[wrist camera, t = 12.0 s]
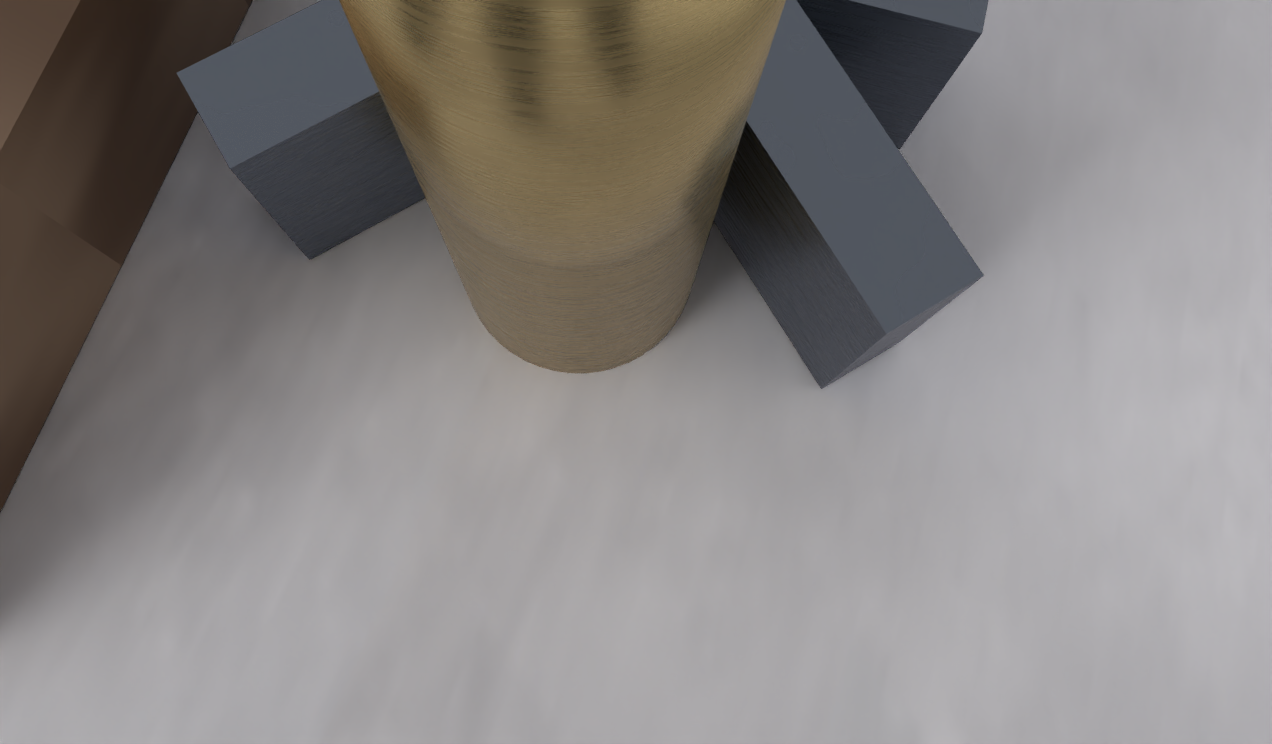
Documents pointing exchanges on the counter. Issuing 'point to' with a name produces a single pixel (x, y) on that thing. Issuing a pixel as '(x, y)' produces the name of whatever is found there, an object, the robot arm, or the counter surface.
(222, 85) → the steel V-block
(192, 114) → the wooden socket block
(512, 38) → the brass axle
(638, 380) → the counter surface
